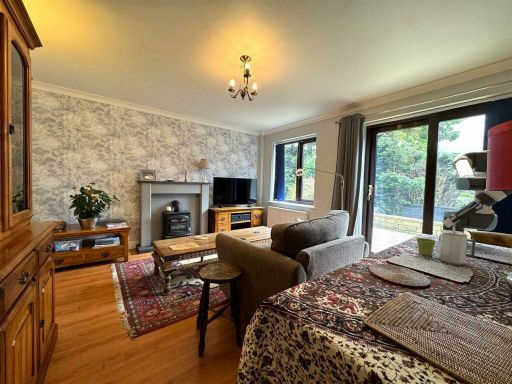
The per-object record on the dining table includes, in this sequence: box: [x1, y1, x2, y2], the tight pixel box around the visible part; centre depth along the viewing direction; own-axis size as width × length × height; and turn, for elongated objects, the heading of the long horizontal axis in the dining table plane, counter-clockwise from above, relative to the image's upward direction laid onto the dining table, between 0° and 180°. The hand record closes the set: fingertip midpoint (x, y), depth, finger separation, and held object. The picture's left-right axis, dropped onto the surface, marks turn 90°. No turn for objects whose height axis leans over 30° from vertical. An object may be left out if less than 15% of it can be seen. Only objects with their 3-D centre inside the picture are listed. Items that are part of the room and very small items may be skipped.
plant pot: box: [415, 237, 437, 257], centre depth 129 cm, size 9×9×9 cm
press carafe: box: [438, 229, 476, 266], centre depth 117 cm, size 11×14×16 cm
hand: (444, 224), depth 120 cm, fingers closed on plunger, 4 cm apart
